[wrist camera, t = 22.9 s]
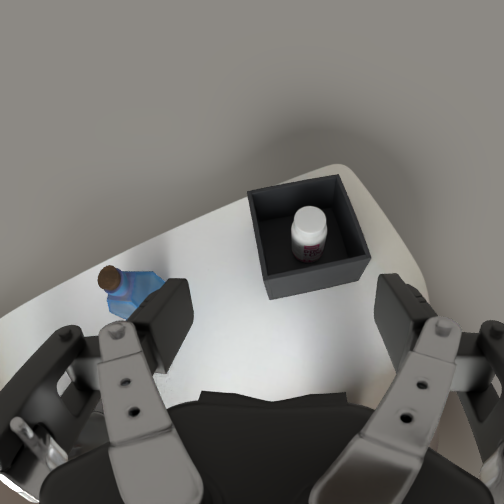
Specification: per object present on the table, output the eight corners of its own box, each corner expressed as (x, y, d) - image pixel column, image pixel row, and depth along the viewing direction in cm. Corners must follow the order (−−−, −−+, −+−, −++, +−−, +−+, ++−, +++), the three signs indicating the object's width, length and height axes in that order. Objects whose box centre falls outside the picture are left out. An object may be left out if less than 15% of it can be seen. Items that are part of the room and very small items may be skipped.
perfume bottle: (170, 286, 43) (132, 253, 32) (165, 324, 40) (122, 302, 29) (137, 285, 44) (94, 254, 33) (131, 321, 41) (84, 299, 30)
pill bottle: (304, 270, 40) (306, 243, 33) (285, 246, 42) (282, 216, 35) (330, 251, 41) (337, 222, 33) (310, 229, 43) (312, 196, 35)
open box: (269, 300, 40) (263, 281, 32) (254, 221, 46) (246, 191, 38) (358, 280, 39) (371, 257, 32) (333, 206, 45) (338, 174, 38)
